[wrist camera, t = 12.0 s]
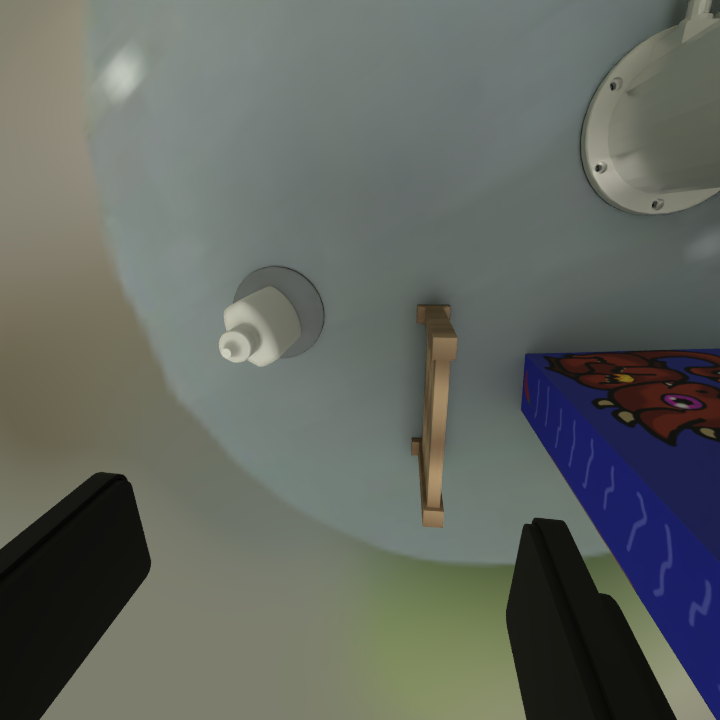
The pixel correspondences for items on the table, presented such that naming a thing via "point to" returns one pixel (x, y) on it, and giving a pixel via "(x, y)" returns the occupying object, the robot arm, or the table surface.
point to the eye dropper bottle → (259, 328)
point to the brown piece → (434, 409)
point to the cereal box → (645, 478)
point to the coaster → (298, 295)
